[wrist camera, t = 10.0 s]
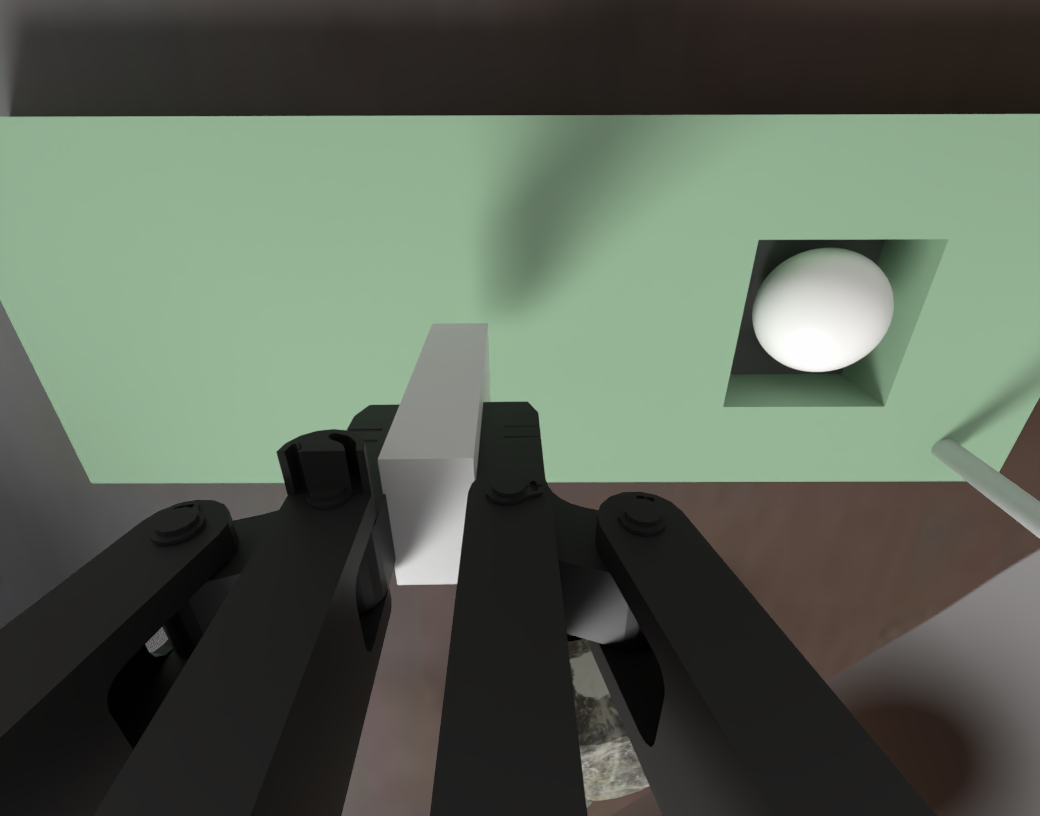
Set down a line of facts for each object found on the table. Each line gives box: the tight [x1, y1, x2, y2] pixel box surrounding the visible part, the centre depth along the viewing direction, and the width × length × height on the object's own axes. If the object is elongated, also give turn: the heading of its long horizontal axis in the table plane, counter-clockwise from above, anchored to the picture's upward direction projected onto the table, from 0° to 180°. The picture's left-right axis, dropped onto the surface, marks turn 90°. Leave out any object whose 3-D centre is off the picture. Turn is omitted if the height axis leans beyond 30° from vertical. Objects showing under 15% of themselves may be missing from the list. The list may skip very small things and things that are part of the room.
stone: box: [568, 639, 650, 807], centre depth 27 cm, size 14×7×10 cm, turn 121°
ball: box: [752, 248, 894, 372], centre depth 17 cm, size 4×4×4 cm
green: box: [0, 114, 1040, 538], centre depth 12 cm, size 34×12×17 cm, turn 90°
